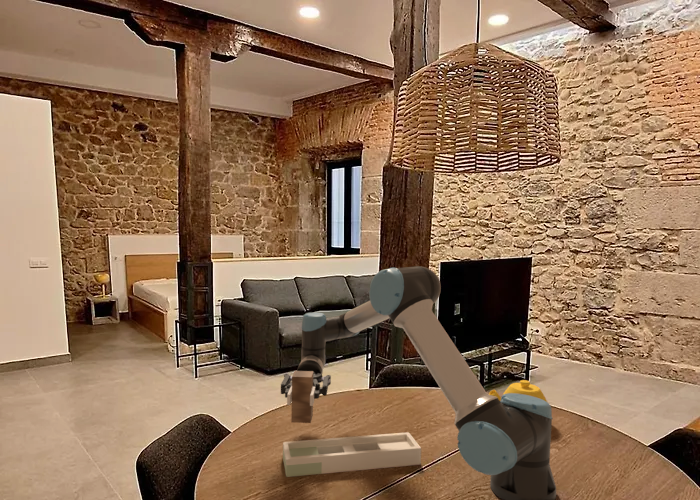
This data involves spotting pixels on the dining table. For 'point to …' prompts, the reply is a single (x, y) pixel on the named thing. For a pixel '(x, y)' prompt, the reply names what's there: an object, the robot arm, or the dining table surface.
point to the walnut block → (301, 397)
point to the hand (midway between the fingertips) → (300, 400)
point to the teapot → (522, 390)
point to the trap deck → (350, 454)
